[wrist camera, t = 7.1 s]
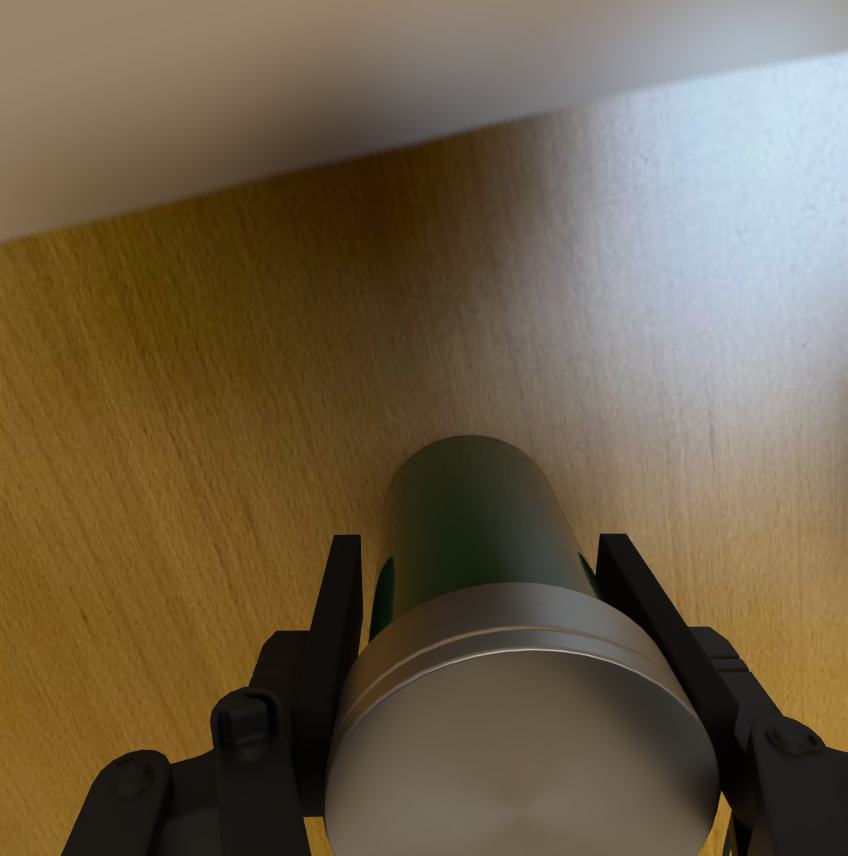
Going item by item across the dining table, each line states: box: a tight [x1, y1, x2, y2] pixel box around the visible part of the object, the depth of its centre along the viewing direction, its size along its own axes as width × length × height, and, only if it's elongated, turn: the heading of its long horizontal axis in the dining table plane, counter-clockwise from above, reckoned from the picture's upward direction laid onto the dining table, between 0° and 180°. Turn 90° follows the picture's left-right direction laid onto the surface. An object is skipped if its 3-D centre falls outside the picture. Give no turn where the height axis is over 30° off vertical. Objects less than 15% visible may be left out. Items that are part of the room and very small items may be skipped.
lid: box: [322, 582, 720, 856], centre depth 12 cm, size 7×7×2 cm
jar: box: [368, 436, 609, 644], centre depth 17 cm, size 6×6×10 cm
